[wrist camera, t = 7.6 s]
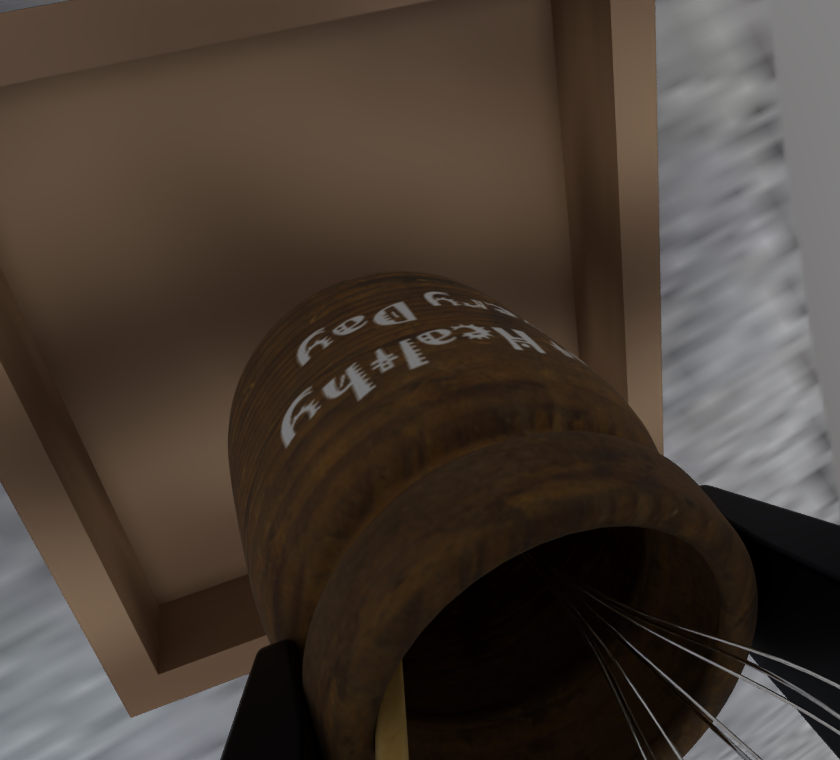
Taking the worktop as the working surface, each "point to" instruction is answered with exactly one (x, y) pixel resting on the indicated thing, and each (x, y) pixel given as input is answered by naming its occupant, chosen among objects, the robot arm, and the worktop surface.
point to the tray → (282, 252)
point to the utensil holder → (479, 539)
